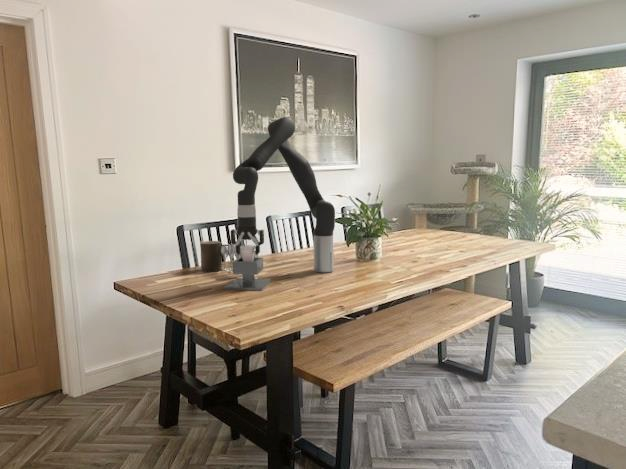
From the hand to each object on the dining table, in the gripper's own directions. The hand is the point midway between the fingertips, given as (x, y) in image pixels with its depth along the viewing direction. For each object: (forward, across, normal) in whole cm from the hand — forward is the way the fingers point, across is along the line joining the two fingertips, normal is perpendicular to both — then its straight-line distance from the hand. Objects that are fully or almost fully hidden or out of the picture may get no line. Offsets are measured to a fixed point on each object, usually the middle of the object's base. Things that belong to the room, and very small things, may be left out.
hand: (247, 254), depth 205 cm
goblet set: (+14, +11, -20) cm, 27 cm away
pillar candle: (+14, +26, -26) cm, 39 cm away
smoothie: (+6, 0, 0) cm, 6 cm away
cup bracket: (+13, 0, 0) cm, 13 cm away
